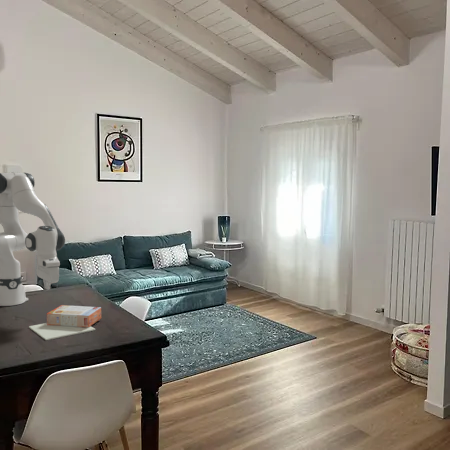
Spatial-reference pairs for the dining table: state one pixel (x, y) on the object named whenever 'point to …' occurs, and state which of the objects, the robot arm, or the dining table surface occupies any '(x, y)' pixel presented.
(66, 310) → the cracker box
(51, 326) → the mat
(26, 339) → the dining table surface
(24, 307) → the dining table surface
